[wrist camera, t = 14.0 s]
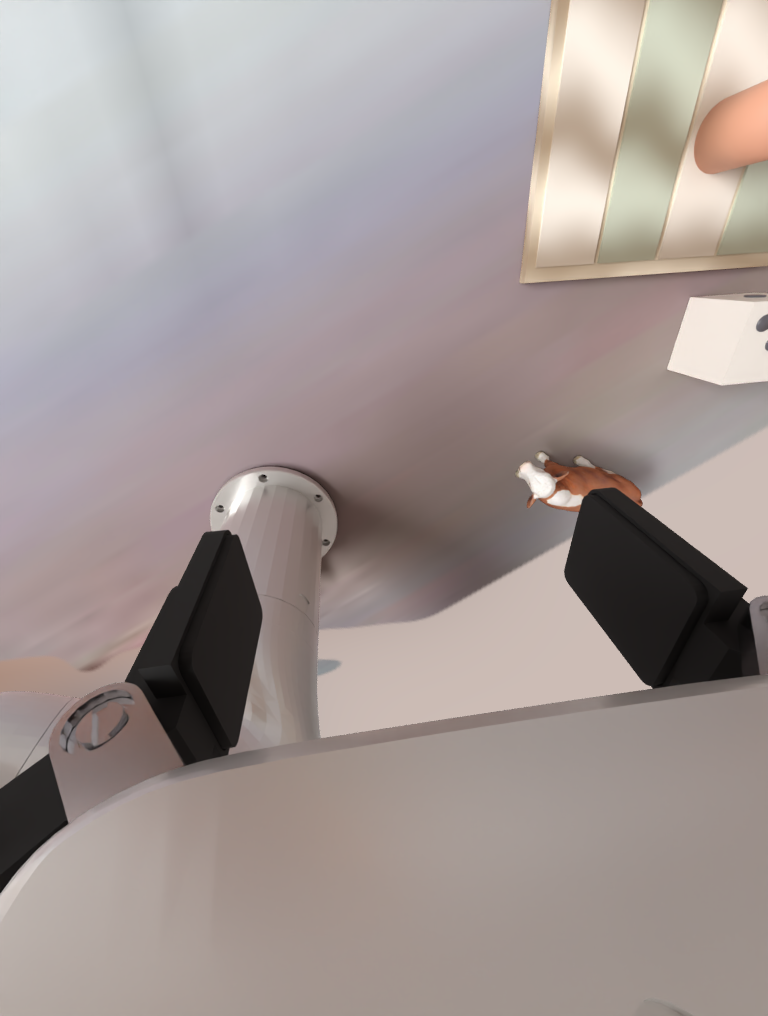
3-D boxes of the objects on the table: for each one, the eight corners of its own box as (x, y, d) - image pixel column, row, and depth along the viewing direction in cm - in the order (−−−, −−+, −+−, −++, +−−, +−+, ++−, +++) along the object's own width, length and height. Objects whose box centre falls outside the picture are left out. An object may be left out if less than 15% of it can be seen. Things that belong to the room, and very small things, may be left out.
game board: (759, 265, 32) (773, 265, 31) (519, 282, 31) (525, 283, 30) (878, -37, 24) (902, -51, 23) (555, -32, 23) (565, -47, 22)
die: (726, 363, 37) (791, 379, 32) (667, 369, 36) (722, 385, 31) (756, 291, 34) (833, 294, 28) (690, 295, 33) (756, 300, 28)
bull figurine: (501, 431, 38) (539, 467, 31) (611, 460, 41) (668, 498, 34) (483, 470, 40) (515, 512, 33) (589, 495, 43) (639, 537, 36)
